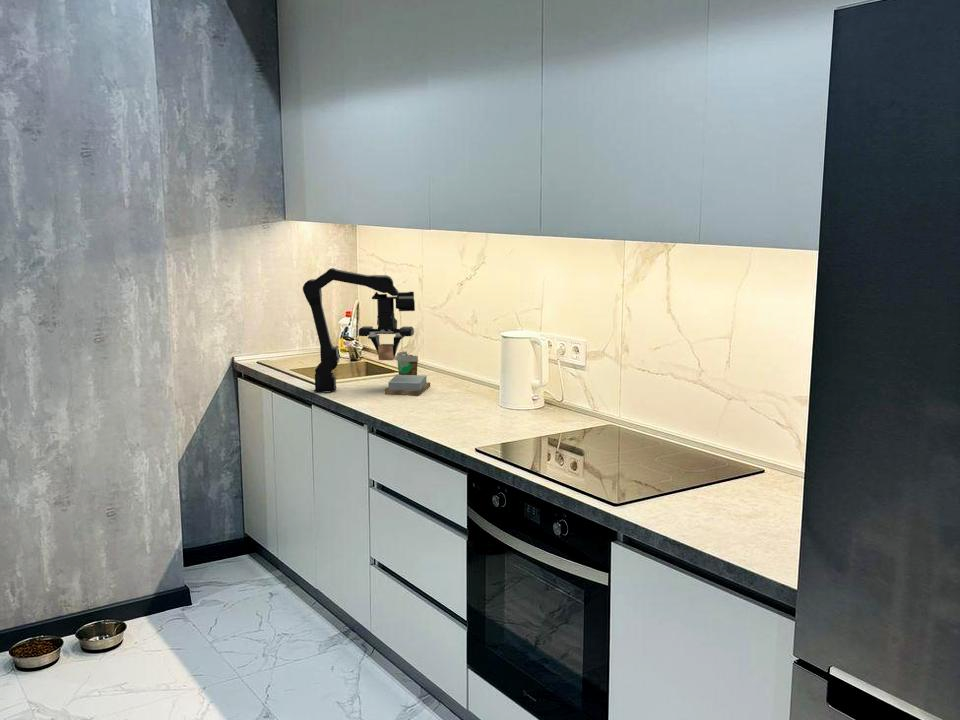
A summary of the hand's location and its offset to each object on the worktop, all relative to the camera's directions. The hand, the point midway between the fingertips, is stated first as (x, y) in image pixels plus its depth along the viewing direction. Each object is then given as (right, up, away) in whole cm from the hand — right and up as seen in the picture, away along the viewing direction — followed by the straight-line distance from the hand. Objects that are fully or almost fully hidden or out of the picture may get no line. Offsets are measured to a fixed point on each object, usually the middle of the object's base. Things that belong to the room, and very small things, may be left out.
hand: (387, 355), depth 346 cm
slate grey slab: (+7, -11, +1) cm, 13 cm away
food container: (+5, -9, +20) cm, 23 cm away
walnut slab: (+7, -13, +1) cm, 15 cm away
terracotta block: (0, -1, 0) cm, 1 cm away
